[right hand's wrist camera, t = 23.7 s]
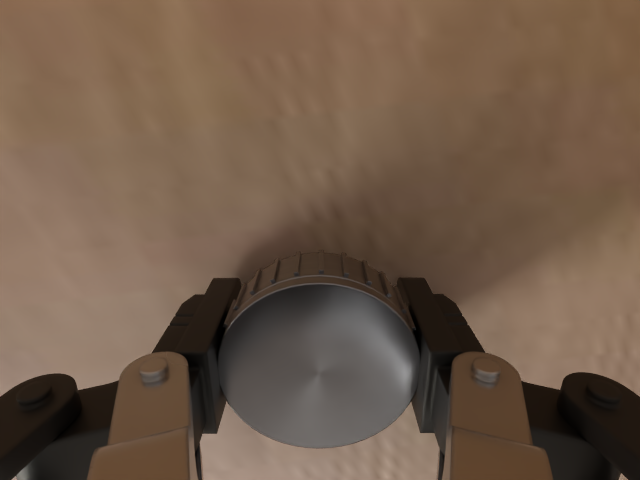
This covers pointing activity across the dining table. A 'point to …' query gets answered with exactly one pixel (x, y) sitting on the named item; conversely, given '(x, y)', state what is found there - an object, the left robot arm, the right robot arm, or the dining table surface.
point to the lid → (318, 351)
